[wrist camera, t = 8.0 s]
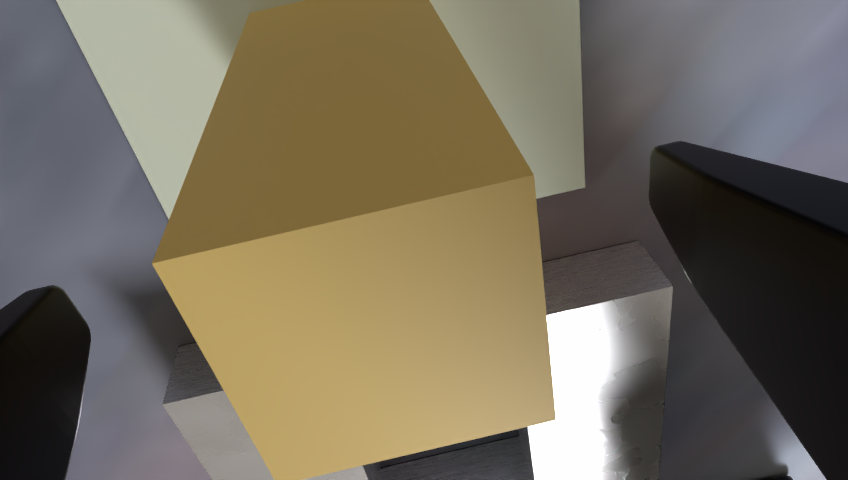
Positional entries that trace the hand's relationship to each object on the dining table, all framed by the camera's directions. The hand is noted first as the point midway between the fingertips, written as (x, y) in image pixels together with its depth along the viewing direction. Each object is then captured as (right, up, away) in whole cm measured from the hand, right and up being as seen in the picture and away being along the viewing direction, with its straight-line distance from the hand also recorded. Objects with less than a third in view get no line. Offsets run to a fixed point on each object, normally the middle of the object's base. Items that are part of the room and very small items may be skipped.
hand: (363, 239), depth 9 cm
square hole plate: (+1, -7, +15) cm, 16 cm away
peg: (-1, +4, +6) cm, 8 cm away
